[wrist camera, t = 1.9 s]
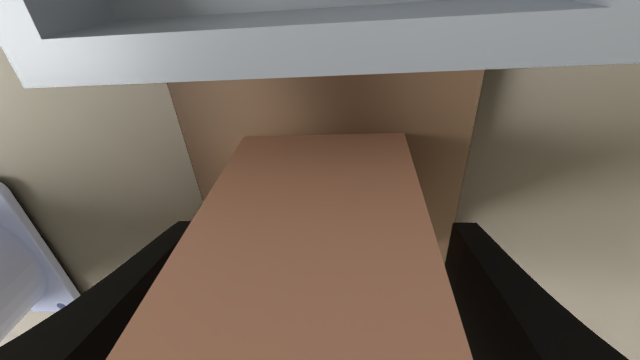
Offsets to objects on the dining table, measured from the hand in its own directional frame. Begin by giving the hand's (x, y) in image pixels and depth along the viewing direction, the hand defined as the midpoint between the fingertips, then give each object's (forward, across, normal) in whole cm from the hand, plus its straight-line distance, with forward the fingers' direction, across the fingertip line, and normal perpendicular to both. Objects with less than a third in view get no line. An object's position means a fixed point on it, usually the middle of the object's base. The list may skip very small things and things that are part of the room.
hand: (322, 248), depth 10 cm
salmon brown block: (+2, 0, 0) cm, 2 cm away
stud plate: (+3, 0, 0) cm, 3 cm away
